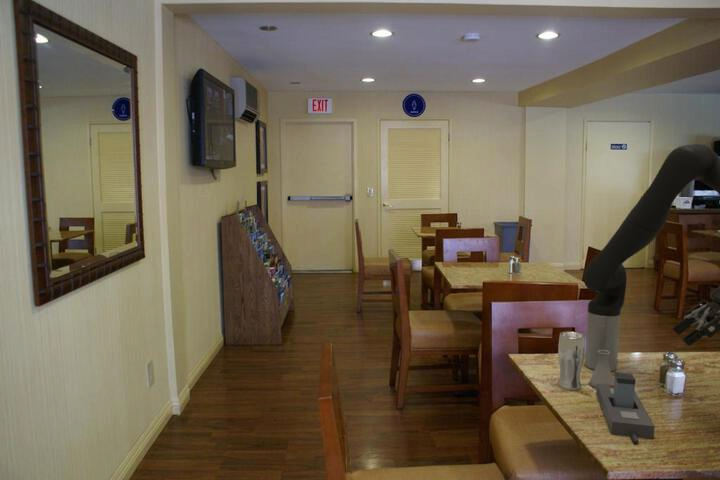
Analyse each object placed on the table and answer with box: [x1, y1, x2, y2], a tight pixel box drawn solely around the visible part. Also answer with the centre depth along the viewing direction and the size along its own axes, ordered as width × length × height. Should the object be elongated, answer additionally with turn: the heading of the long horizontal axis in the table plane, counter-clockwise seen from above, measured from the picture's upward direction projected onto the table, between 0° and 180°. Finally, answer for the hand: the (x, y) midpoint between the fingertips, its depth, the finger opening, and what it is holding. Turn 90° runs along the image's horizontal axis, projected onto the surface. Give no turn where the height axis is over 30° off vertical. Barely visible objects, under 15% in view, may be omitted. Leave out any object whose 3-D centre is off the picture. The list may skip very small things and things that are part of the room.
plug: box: [613, 372, 636, 409], centre depth 143 cm, size 4×4×10 cm
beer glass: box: [557, 331, 586, 391], centre depth 160 cm, size 7×7×15 cm
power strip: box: [595, 383, 655, 445], centre depth 141 cm, size 28×9×4 cm, turn 166°
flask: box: [588, 350, 615, 389], centre depth 162 cm, size 7×7×10 cm
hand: (680, 337), depth 138 cm, fingers open, 8 cm apart
